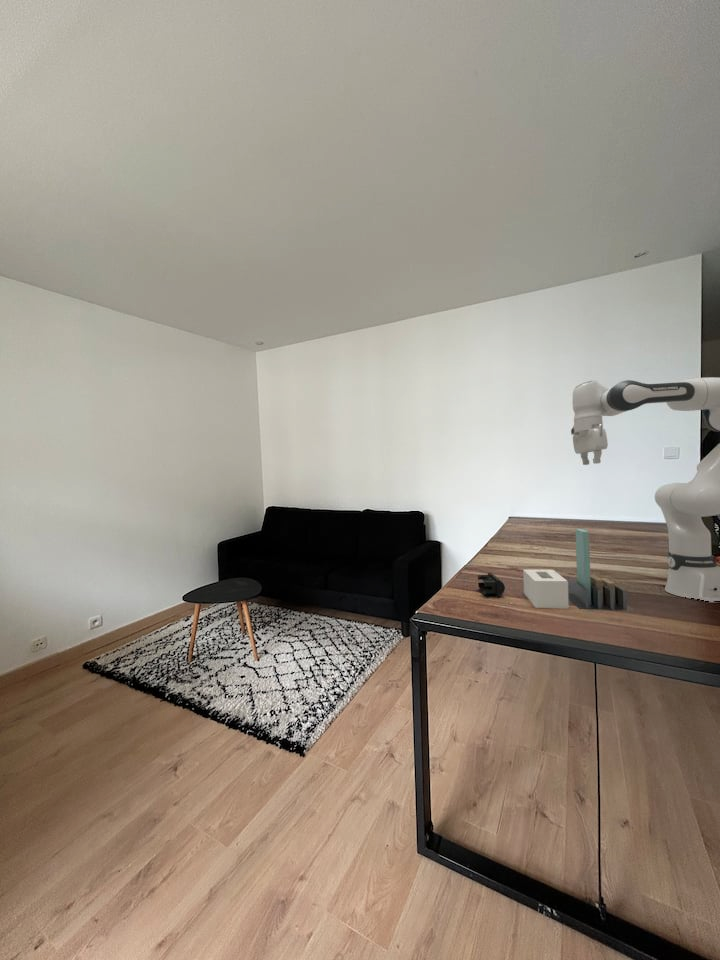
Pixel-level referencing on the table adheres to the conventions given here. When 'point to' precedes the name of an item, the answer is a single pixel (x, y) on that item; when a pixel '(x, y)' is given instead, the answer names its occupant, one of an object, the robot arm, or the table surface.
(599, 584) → the offcut tall
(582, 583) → the tall sheet
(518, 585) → the table surface
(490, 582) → the end cap
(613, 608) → the rack
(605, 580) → the offcut small
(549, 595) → the holder
